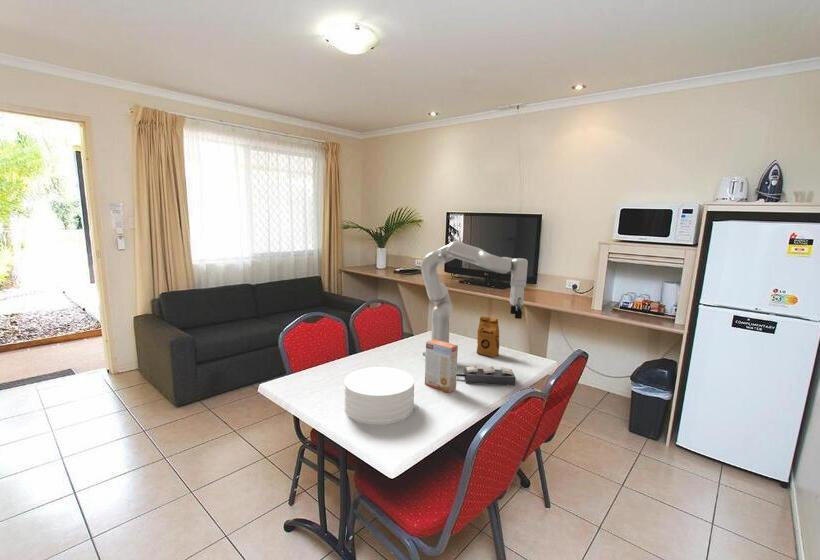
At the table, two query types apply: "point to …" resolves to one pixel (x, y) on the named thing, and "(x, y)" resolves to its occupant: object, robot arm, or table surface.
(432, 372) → the cracker box
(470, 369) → the block
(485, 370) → the plate
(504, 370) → the rocker right
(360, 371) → the plate stack
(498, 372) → the power strip
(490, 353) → the coffee package
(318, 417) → the table surface
